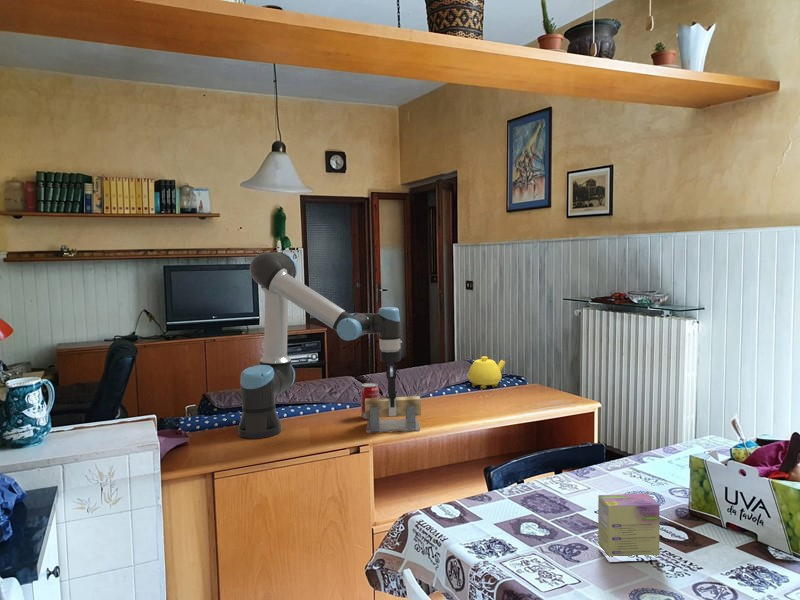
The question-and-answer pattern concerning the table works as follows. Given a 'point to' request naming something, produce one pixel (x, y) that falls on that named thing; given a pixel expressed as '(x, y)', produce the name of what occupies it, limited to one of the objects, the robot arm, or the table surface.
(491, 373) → the teapot
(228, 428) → the table surface
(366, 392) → the soda can
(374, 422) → the bracket mount
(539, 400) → the table surface
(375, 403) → the rail
